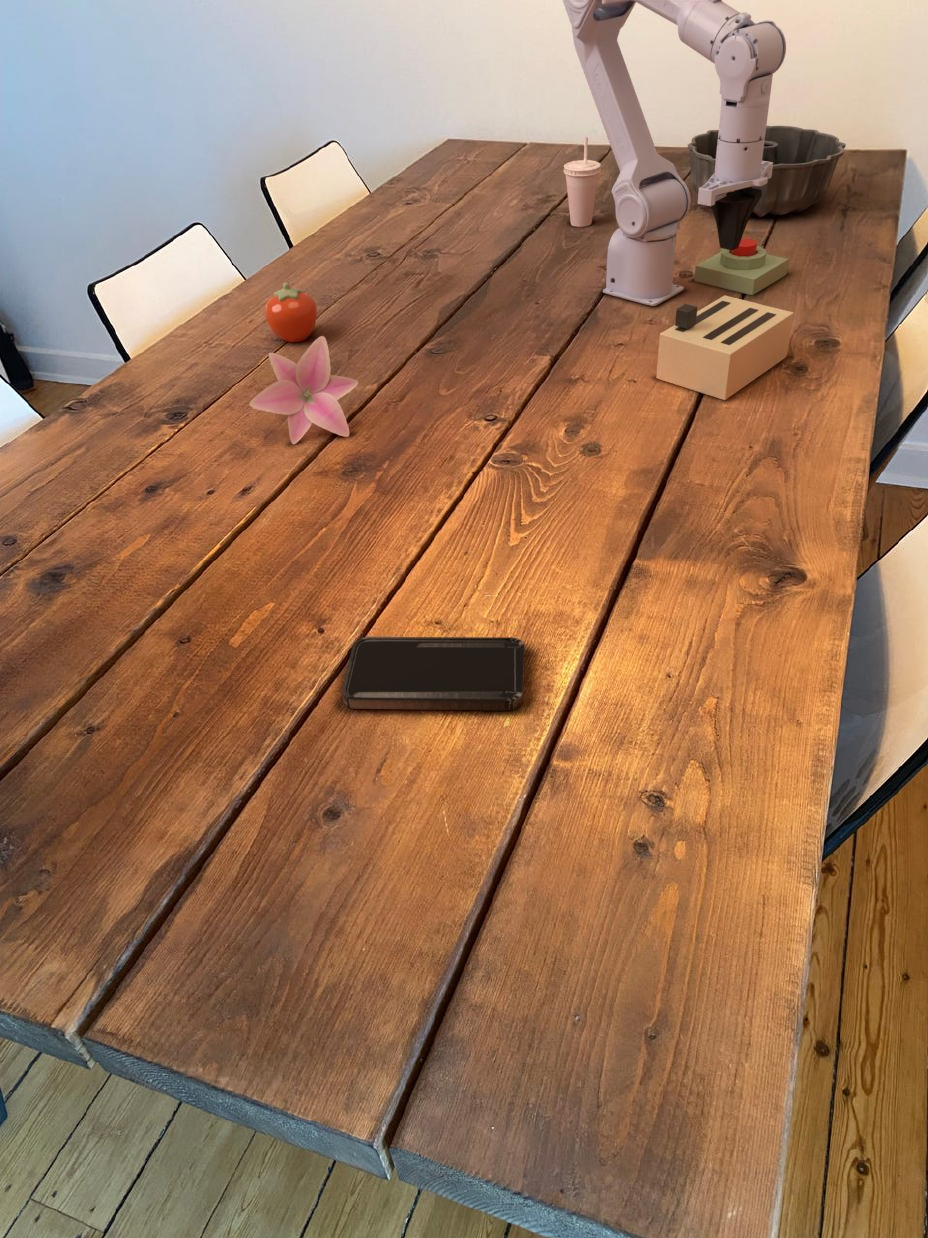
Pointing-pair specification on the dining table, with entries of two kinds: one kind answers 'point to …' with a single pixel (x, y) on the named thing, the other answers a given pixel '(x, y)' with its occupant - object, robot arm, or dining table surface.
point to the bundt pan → (779, 166)
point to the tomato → (291, 314)
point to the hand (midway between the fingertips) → (728, 247)
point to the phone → (435, 673)
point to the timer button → (745, 248)
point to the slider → (686, 316)
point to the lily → (306, 392)
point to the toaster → (724, 347)
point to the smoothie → (582, 188)
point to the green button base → (741, 271)
